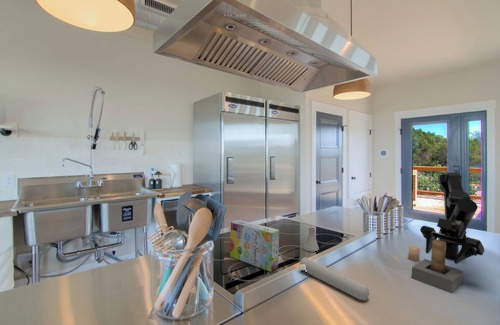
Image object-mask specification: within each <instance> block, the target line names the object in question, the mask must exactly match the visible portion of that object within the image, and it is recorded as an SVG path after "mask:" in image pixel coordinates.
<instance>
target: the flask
mask: <svg viewBox="0 0 500 325" xmlns="http://www.w3.org/2000/svg"><path fill="white" fill-rule="evenodd" d="M307 229H308V235H307V238H306V241H305V243H304V246H303V248H302V250H303V251H306V252H309V253H310V252H311V253H316V252H315V251H317V252H319V251H320V247H319V244H318V242H317V238H316V234H315V232H316V227H314V226H313V227H312V226H309V227H308V228H307ZM318 250H319V251H318Z"/></svg>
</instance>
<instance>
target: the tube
mask: <svg viewBox="0 0 500 325" xmlns="http://www.w3.org/2000/svg"><path fill="white" fill-rule="evenodd" d="M300 264H305V265H306V270H307V273H306V274H308V273H309V274H308V275H310V276H312V277H314V278H316V279H319V280H320V281H322V282H324V283H326V284H328V285H329V286H332V287H334V288H336V289H337V290H340V291H342V292H344V293H346V294H348V295H350V296H351V297H353V298H355V299H357V300H359V301H362V300H363V301H366V300H367V299H368V298H369V296H370V295H371V294H370V290H369V287H368V286H367V285H365V284H364V283H362V282H359V281H357V280H356V279H353V278H351V277H349V276H346V275H345V274H342V273H340V272H338V271H336V270H333V269H331V268H329V267H326V266H325V265H322V264H320V263H318V262H316V261H313V260H311V259H309V258H308V257H307V256H304V257H302V258H301V260H300V262H299V265H300Z"/></svg>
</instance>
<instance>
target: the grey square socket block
mask: <svg viewBox="0 0 500 325" xmlns="http://www.w3.org/2000/svg"><path fill="white" fill-rule="evenodd" d="M464 272H465V271H464V270H461V269H459V268H455V267H452V266H450V265H449V266H448V265H447V264H445V271H444V274H441V273H438V272H435V271H432V270H431V260H429V259H426V258H424V259H422V260H421V261H419V262H418V263H416V264H415V265H412V268H411V278H412V279H415V280H416V281H419V282H421V283H425V284H427V285H429V286H433V287H436V288H438V289H441V290H443V291H446V292H448V293H454V292H455V290H457V288H459V287H460V286H461V284H462V283H463V282H464Z"/></svg>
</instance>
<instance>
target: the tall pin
mask: <svg viewBox="0 0 500 325" xmlns="http://www.w3.org/2000/svg"><path fill="white" fill-rule="evenodd" d="M445 256H446V242H444V241H441V240H438V239H436V240H432V249H431V260H430V261H431V270H432V271H435V272H438V273H441V274H444V271H445V265H446V257H445Z"/></svg>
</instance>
